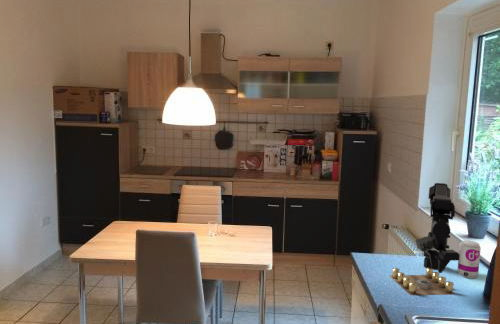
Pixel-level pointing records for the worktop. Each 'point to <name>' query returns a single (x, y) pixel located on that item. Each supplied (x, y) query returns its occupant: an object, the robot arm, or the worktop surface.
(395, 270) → the brass spacers
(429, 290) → the board
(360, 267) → the worktop surface
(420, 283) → the steel nut
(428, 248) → the robot arm
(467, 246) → the supplement can
